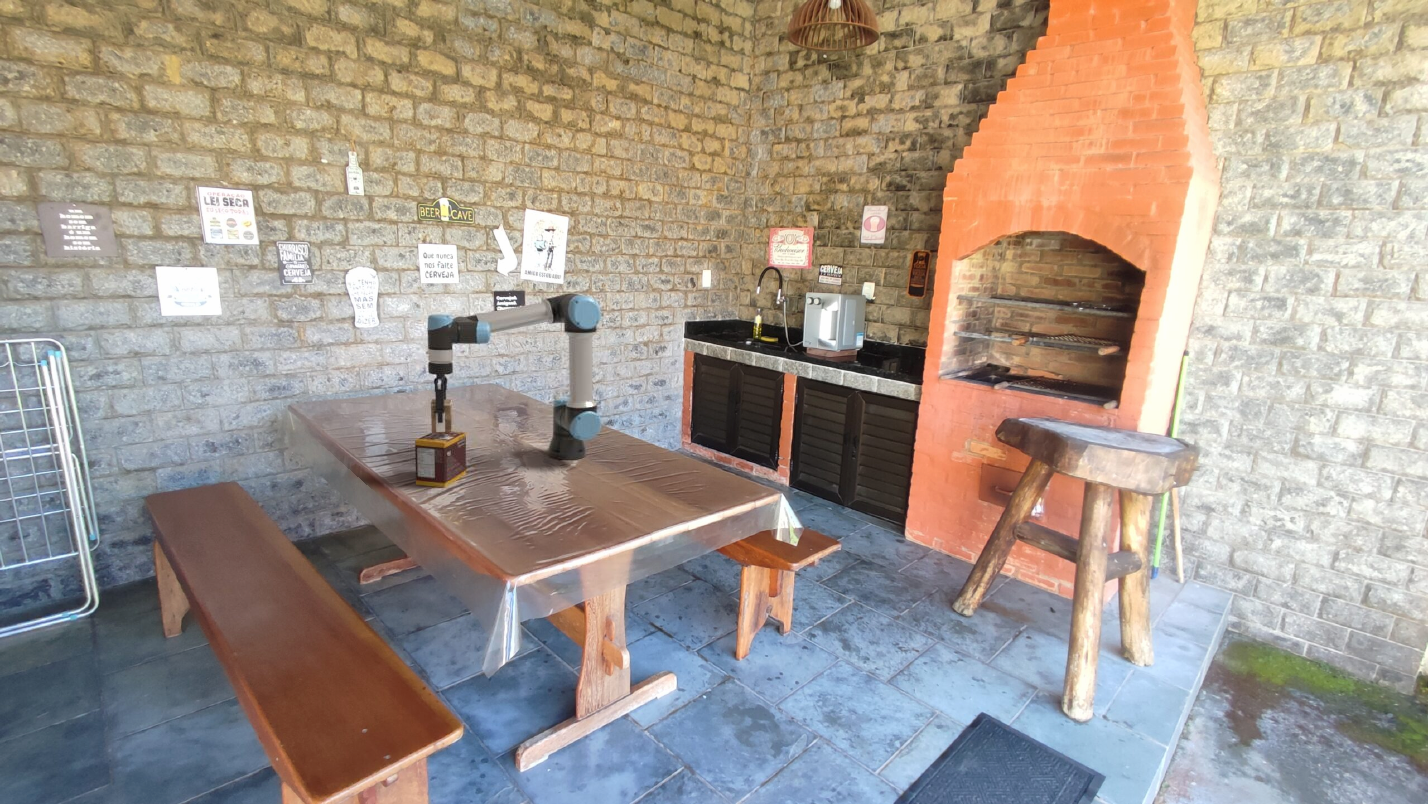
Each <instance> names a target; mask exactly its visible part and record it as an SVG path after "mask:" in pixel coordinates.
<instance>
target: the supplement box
mask: <svg viewBox="0 0 1428 804" xmlns="http://www.w3.org/2000/svg"><path fill="white" fill-rule="evenodd" d="M466 436H467V432H466V431H455V430H451V432H432V431H431V432H430V433H428V434H426V435H423V436H421V437H419V438H417V439H415V441H414V450H415V453H414V455H415V458H414V459H415V485H416V486H427V487H434V488H435V487H436V488H444V489H445V488H446V487H448V486H450V485H451V484H454V483H455V482H456V481H457V480H459V479H462V478H463V477H464V476H466V475H467V465H466V464H467V437H466Z"/></svg>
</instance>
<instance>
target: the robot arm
mask: <svg viewBox="0 0 1428 804" xmlns="http://www.w3.org/2000/svg"><path fill="white" fill-rule="evenodd" d="M601 318H602V312H601V307H600V305H599V303H598V302H597V301H596V300H595V299H594V298H592V297H590V296H587V295H585V294H580V293H572V292H570V293H564V294H560V295H556V296H552V297H548V298H544V299H542V302H536V303H532V304H531V303H530V304H525V305H521V306H516V307H511V308H505V309H499V310H495V311H494V310H493V311H489V312H483V313H478V314H473V315H467V316H461V315H460V316H455V317H452V315H450V314H438V313H437V314H436V313H435V314H430V315H429V316H428V317H427V327H426V330H427V351H426V352H425V354H426V355H428V356H427V358H428V361H429V362H428V364H427V369H428V370H427V373H428V374H430V375H435V377H434V379H433V385H434V394H435V396H434V397H435V399H436V410H435V411H434V413H436V432H445V413H444V412H445V411H444V399H447V390H448V385H447V384H448V378H447V375H451V374H453V373H454V371H453V370H454V369H453V368H454V366H453V362H452V361H453V360H454V358H453V354H454V351H453V350H454V349H453V345H459V344H461V345H462V344H464V345H466V344H467V345H472V344H473V345H481V344H488V343H489V342H490V339H491V334H495V333H499V332H504V331H510V330H514V329H519V328H523V327H529V326H533V325H534V326H535V325H540V324H544V323H547V324H548V325H553V324H563V325H564V326H563V327H564V329H563V330H564V333H565V334H566V335H567V336H568V368H569V369H568V370H569V371H568V373H569V375H568V378H569V379H568V380H569V398H567V397H565V398H564V397H563V398H556V399H555V400H554V401H553V407H552V410H553V411H552V414H553V415H552V437H551V439H550V443H549V445H548V447H547V456H549V457H550V458H552V459H556V460H562V461H563V460H565V461H566V460H567V461H568V460H572V461H573V460H578V459H583V458H585V457H586V456H587V447H586V444H585V443H586V442H585V441H589V440H592V439H593V438H595V437H596V436H597V435H598V434H599V433H600V432H601V429H602V424H603V423H602V419H601V416H600V415H599V414H598V406H597V405H598V403H597V402H596V400H594V392H593V386H594V385H593V382H594V380H593V376H594V375H593V374H594V373H593V372H594V371H593V370H594V369H593V336H594V335H596V333H597V325H598V324H599V323H600V322H601Z"/></svg>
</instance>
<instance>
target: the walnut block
mask: <svg viewBox="0 0 1428 804" xmlns="http://www.w3.org/2000/svg"><path fill="white" fill-rule="evenodd" d="M452 402H453V400H452V398H451V399H450V398H448V399H447V398H446V399H444V411H445V412H444V413H445V432H451V431H453V430H452V429H453V414H452V411H453V410H452V409H453V406H452V405H453V403H452ZM435 410H436V398H435V399H433V398H432V400H431V402H430V418H431V421H430V422H431V433H432V432H436V413H434V411H435Z"/></svg>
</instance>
